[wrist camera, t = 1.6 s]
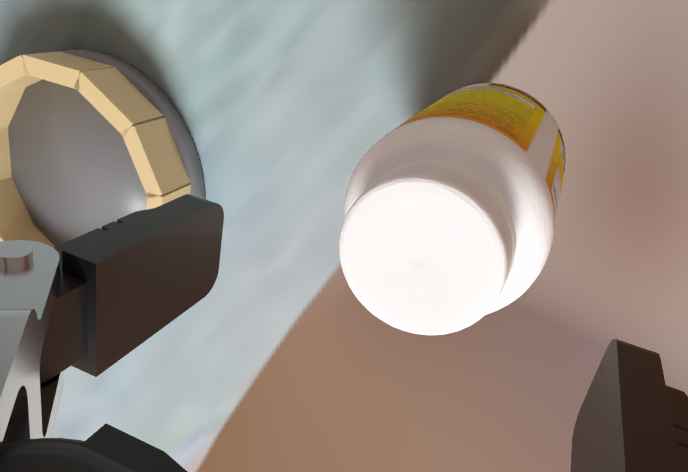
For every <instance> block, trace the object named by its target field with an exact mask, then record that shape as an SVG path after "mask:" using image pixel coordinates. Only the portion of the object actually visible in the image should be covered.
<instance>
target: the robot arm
mask: <svg viewBox="0 0 688 472" xmlns="http://www.w3.org/2000/svg"><path fill="white" fill-rule="evenodd" d="M223 220H224V213H223V209H222V207H221V205H219V204H217V203H214V202H211V201H208V200H205V199H202V198H199V197H196V196H193V195H190V194H185V195H183V196H181V197H178V198H176V199H174V200H172V201H170V202H167V203H165V204H163V205H161V206H158V207H156V208H152V209H147V210H141V211H136V212H133V213H131V214H129V215H126V216H124V217H122V218H120V219H117V222H114V221H113V222H111V223H108V224H106V225H104V226H102V228H101V229H100V228H97V229H95V230H92V231H90V232H88V233H86V234H83V235H81V236H79V237H76V238H74V239H72V240H70V241H67V242H65V243H63V244H61V245H58V246H56V247H54V248H53V247H51V246H49V245H46V244H44V243H40V242H35V241H27V240H11V241H2V242H0V472H187V471H186V470H185V469H184V468H182V467H181V466H180V465H179V464H178V463H177V462H176V461H174V460H173V459H172V458H171V457H170V456H169V455H167V454H166V453H165V452H164V451H162V450H160V449H158V448H156V447H154V446H151V445H149V444H147V443H145V442H143V441H141V440H139V439H137V438H135V437H133V436H131V435H129V434H127V433H125V432H122V431H120V430H118V429H116V428H114V427H112V426H110V425H108V424H105V425H104V426H102V427H101V428H100V429H99V430H98V431H97V432H95V433H94V434H93V435H92V436H91V437H90V438H88V439H87V440H86V441H81V440H73V439H64V438H52V434H53V429H54V425H55V420H56V416H57V411H58V406H59V402H60V397H61V393H62V388H63V370H65V369H66V368H68V367H69V366H73V367H76V368H78V369H80V370H82V371H84V372H86V373H89V374H91V375H93V376H95V377H97V376H98V375H99V374H101V373H102V372H103V371H105V370H106V369H108V368H109V367H110V366H112V365H113V364H114V363H116V362H117V361H118V360H120V359H121V358H122V357H124V356H125V355H127V354H128V353H129V352H131V351H132V350H133V349H135V348H136V347H137V346H139V345H140V344H141V343H143V342H144V341H146V340H147V339H148V338H150V337H151V336H152V335H154V334H155V333H156V332H158V331H159V330H160V329H162V328H163V327H164V326H166V325H167V324H169V323H170V322H171V321H173V320H174V319H175V318H177V317H178V316H179V315H181V314H182V313H183V312H185V311H186V310H188V309H189V308H190V307H192V306H193V305H194V304H196V303H197V302H198V301H200V300H201V299H202V298H204V297H205V296H206V295H207V294H208V293H209V292H210V290H211V289H212V287H213V285H214V283H215V281H216V278H217V275H218V270H219V260H220V250H221V240H222V230H223ZM571 472H688V397H687V395H686V394H685V393H684V392H683V391H680V390H677V389H674V388H671V387H668V386H666V385H665V380H664V375H663V370H662V365H661V359H660V356H659V354H658V353H656V352H653V351H650V350H647V349H644V348H641V347H638V346H635V345H632V344H629V343H626V342H623V341H620V340H617V339H613V340H612V341H611V342H610V344H609V346H608V348H607V350H606V351H605V354H604V356H603V358H602V361H601V363H600V365H599V367H598V370H597V372H596V374H595V376H594V379H593V381H592V383H591V386H590V388H589V390H588V392H587V395H586V397H585V399H584V401H583V404H582V406H581V409H580V411H579V414H578V417H577V420H576V424H575V428H574V432H573V438H572V454H571Z"/></svg>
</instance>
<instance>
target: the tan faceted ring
mask: <svg viewBox="0 0 688 472" xmlns="http://www.w3.org/2000/svg"><path fill="white" fill-rule="evenodd" d="M185 194H190V195H193V196H196V197H199V198H202V199H205V186H204V177H203V172H202V168H201V163H200V159H199V156H198V153H197V150H196V147H195V144H194V142H193V140H192V137H191V135H190V133H189V131H188V129H187V127H186V125H185V123H184V121H183V120H182V118H181V116H180V115H179V113H178V111H177V110H176V109H175V107H174V106H173V104H172V103H171V102H170V100H169V99H168V98H167V97H166V95H165V94H164V93H163V92H162V91H161V90H160V89H159V88H158V86H157V85H156V84H154V83H153V82H152V81H151V80H150V79H149V78H148V77H147V76H146V75H144V74H143V73H142V72H140V71H139V70H137V69H136V68H135V67H133V66H132V65H130V64H128V63H127V62H125V61H123V60H121V59H119V58H117V57H114V56H112V55H109V54H106V53H103V52H98V51H93V50H78V49H75V50H65V51H56V52H45V53H35V54H24V55H19V56H17V57H15V58H14V59H12V60H10V61H8V62H6V63H4V64H2V65H0V242H2V241H11V240H27V241H35V242H40V243H44V244H46V245H49V246H51V247H53V248H54V247H56V246H58V245H61V244H63V243H65V242H67V241H70V240H72V239H74V238H76V237H79V236H81V235H83V234H86V233H88V232H90V231H92V230H95V229H97V228H100V229H101V228H102V226H104V225H106V224H108V223H111V222H113V221H114V222H117V219H120V218H122V217H124V216H126V215H129V214H131V213H133V212H136V211H141V210H147V209H152V208H156V207H158V206H161V205H163V204H165V203H167V202H170V201H172V200H174V199H176V198H178V197H181V196H183V195H185Z"/></svg>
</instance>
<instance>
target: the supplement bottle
mask: <svg viewBox="0 0 688 472" xmlns="http://www.w3.org/2000/svg"><path fill="white" fill-rule="evenodd" d="M564 170H565V147H564V142H563V138H562V135H561V132H560V129H559V127H558V125H557V123H556V121H555V120H554V118H553V116H552V115H551V114H550V112H549V111H548V110H547V109H546V108H545V107H544V106H543V105H542V104H541V103H540V102H539V101H538V100H536V99H535V98H534V97H532V96H531V95H529V94H528V93H526V92H524V91H522V90H520V89H517V88H514V87H511V86H507V85H504V84H497V83H480V84H473V85H469V86H466V87H462V88H460V89H457V90H455V91H453V92H451V93H449V94H447V95H446V96H444V97H442V98H441V99H439V100H438V101H436V102H435V103H433V104H432V105H430V106H429V107H427V108H426V109H424V110H423V111H421V112H419V113H418V114H417V115H415V116H413V117H412V118H411V119H409V120H408V121H406V122H405V123H403V124H402V125H400V126H399V127H397V128H396V129H394V130H393V131H391V132H390V133H388V134H387V135H385V136H384V137H383V138H381V139H380V140H379V141H378V142H377V143H376V144H374V145H373V146H372V147H371V148H370V149H369V150H368V151H367V153H366V154H365V155H364V156H363V158H362V159H361V161H360V162H359V164H358V165H357V167H356V169H355V170H354V172H353V175H352V177H351V179H350V182H349V185H348V188H347V192H346V197H345V204H344V222H343V225H342V228H341V233H340V238H339V253H340V261H341V266H342V270H343V272H344V275H345V277H346V280H347V282H348V285H349V286H350V288H351V290H352V291H353V293H354V295H355V296H356V297H357V298H358V300H359V301H360V302H361V303H362V304H363V305H364V306H365V307H366V308H367V309H368V310H369V311H370V312H371V313H372V314H374V315H375V316H376V317H378V318H379V319H380V320H382V321H384V322H386V323H388V324H389V325H391V326H393V327H395V328H398V329H401V330H403V331H407V332H411V333H415V334H423V335H441V334H447V333H452V332H456V331H459V330H461V329H464V328H466V327H468V326H470V325H472V324H473V323H475V322H477V321H478V320H480V319H481V318H482V317H483V316H484V315H486V314H489V313H492V312H494V311H497V310H499V309H501V308H503V307H505V306H507V305H508V304H510V303H511V302H513V301H514V300H516V299H517V298H518V297H520V296H521V295H522V294H523V293H524V292H525V291H526V290H527V289H528V288H529V287H530V286H531V284H532V283H533V282H534V281H535V279H536V278H537V276H538V275H539V273H540V272H541V270H542V268H543V266H544V264H545V262H546V260H547V257H548V254H549V251H550V248H551V245H552V240H553V236H554V229H555V224H556V218H557V212H558V206H559V200H560V195H561V189H562V184H563V175H564Z"/></svg>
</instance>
